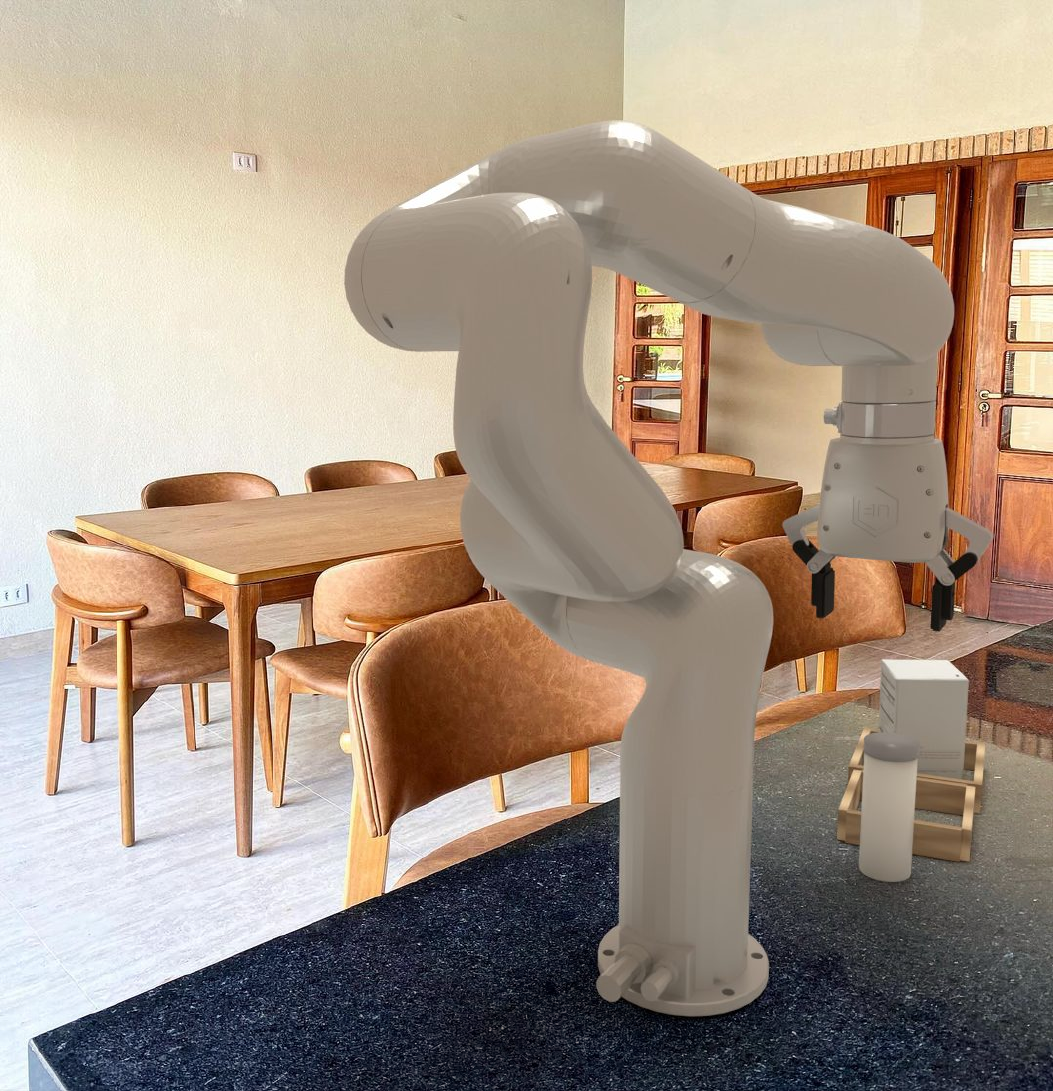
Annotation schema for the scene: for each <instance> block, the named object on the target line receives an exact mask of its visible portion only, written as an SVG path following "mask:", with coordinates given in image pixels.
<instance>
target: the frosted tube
mask: <svg viewBox="0 0 1053 1091" xmlns="http://www.w3.org/2000/svg"><path fill="white" fill-rule="evenodd" d="M919 747H920V744H919V742H918V741H917V740H916V739H914V738H912V737H909V736H906V735H903V734H898V733H889V732H878V733H872V734H868V735H866V736H865V737H864V747H863V750H864V771H863V791H862V800H861V811H862V812H861V832H860V845H859V852H858V853H859V857H858V870H859V871H860V872H861V874H863V875H865V877H868V878H871V879H873V880H876V881H881V882H886V883H887V882H888V883H896V882H897V883H899V882H903V881H906V880H908V879H909V878H910V877H911V874H912V860H913V859H912V858H913V854H912V845H913V828H914V820H915V809H916V808H915V794H916V777H917V760H918V757H919Z"/></svg>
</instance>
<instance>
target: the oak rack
mask: <svg viewBox="0 0 1053 1091" xmlns="http://www.w3.org/2000/svg"><path fill="white" fill-rule="evenodd" d="M872 733H878V729H876V728H869V727H864V728H863V730H862V732H861V735H860V737H859V740H858V743H857V745H856V747H855V750H854V751H853V755H852V757H851V759H850V761H849V764H848V772H847V773H848V774H847V775H848V776H847V786H846V788H845V792H844V794H843V796H842V798H841V802H840V803H839V804H840V805H839V807H838V808H837V809H838V812H837V828H836V830H837V832H836V840H839V841H844V843H845V844H852V845H856V846H857V845H858V846H860V832H861V812H862V810H857V809H858V807H859V803H860V801H862V791H863V771H864V750H863V747H864V737H865V736H866V735H868V734H872ZM985 751H986V742H979V741H970V740H965V752H964V768H963V770H970V771H974V775H973V780H969V779H968V780H967V779H963V780H962V779H955V778H948V777H941V776H934V775H927V774H920V773H917V777H916V794H915V809H918V810H925V811H926V810H927V811H932V812H937V813H944V814H945V813H946V814H951V815H956V816H957V815H958V816H962V823H961V826H957V825H956V826H955V825H950V824H946V823H945V824H944V823H938V822H931V821H925V820H919V819H914V828H913V845H912V855H917V856H922V857H928V858H935V859H941V860H946V861H952V862H959V863H960V861H963V862H970V859H971V858H970V857H971V847H972V846H971V845H972V837H973V836H972V835H973V834H972V833H973V823H974V814H981V809H982V808H981V806H982V796H983V795H982V793H983V781H984V780H983V779H984V765H985Z"/></svg>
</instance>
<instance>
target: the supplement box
mask: <svg viewBox="0 0 1053 1091" xmlns="http://www.w3.org/2000/svg"><path fill="white" fill-rule="evenodd" d="M880 662H881V663H880V679H879V680H880V681H879V682H880V683H879V684H880V685H879V706H878V707H879V710H878V725H877V726H878V732H889V733H898V734H903V735H906V736H909V737H912V738H914V739H916V740H917V741H918V742H919V744H920V747H919V757H918V760H917V773H920V774H927V775H934V776H941V777H948V778H955V779H962V780H964V769H963V768H964V752H965V741H966V732H967V731H966V730H967V718H968V716H967V715H968V702H969V701H968V698H969V685H970V682H969V681H970V680H969V679H968V678H967V676H965V675H964V674H963V673H962V672H961V671H960V670H959V669H958V668H957V667H956V666H955V665H954V664H953V663H952V662H950V661H949V660H947V659H885V658H883V659H881V661H880Z"/></svg>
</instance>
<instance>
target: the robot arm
mask: <svg viewBox="0 0 1053 1091" xmlns="http://www.w3.org/2000/svg"><path fill="white" fill-rule="evenodd" d="M593 267H598V268H602V269H606V270H610V271H611V272H614V273H617V274H619V275H621V276H623V277H625V278H627V279H629V280H631V281H634V282H636V283H639V284H640V285H642V286H645V287H647V288H649V289H651V290H652V291H655V292H657V293H660V294H662V295H663V296H665V297H668V298H669V299H672V300H674V301H675V302H678V303H679V304H682V305H684V306H685V307H688V308H690V309H691V310H693V311H695V312H698V313H701V314H703V315H706V316H710V317H716V318H719V319H726V320H731V321H737V322H742V323H743V322H744V323H753V324H754V323H755V324H760V329H761V333H762V336H763V339H764V341H765V343H766V344H767V346H768V348H769V349H770V351H771V352H773V353H774V354H775V356H778V358H780V359H782V360H784V361H786V362H788V363H791V364H795V365H799V366H808V367H841V368H842V369H841V398H840V399H841V402H838V405H837V406H835V407H833V408H825V409H824V412H823V423H824V424H825V425H832V426H833V427H836V429H837V434H840V435H839V437H836V438H832V439H830V440H829V444H828V446H827V451H826V457H825V462H824V468H823V474H822V482H821V489H820V494H819V495H820V496H819V504H817V505H815V506H813V507H811V508H808V509H807V510H804V511H802V512H799V513H798V514H794V515H792V516H791V517H789V518H786V519H785V520H783V522H782V528H783V530H784V532H785V534H786V536H787V539H788V541H789V543H790V544H791V546H792V551H793V552H794V553H795V554H796V557H798V558H799V559H800V560H801V561H802V563H804V565H806V569H807V571H808V573H810V574H811V588H810V589H811V592H810V594H811V596H810V599H811V600H810V602H811V603H810V604H811V606H813V607H815V608H816V610H815V617H816V619H824V618H826V617H828V616H829V615H830V614H831V613H833V611H834V610H835V590H836V589H835V586H836V585H835V583H836V572H835V571H836V570H834V567H831V566H832V561H833V560H834V559H836V557H838V558H839V557H840V558H850V559H858V560H859V559H861V560H873V561H883V562H884V561H886V562H896V563H898V562H899V563H913V564H916V563H917V564H919V563H924V564H925V565H926V566H927V567H928V569H929V570H930V571H931V572H932V574H933V575H934V576H935V577H936V581H935V583H934V584H933V585H932V586H931V587H932V588H931V604H930V606H931V608H930V610H931V611H930V628H929V629H930V630H932V631H933V632H939V633H940V632H941V630H943V629H944V627H945V626H946V624H947V622H948V621H952V620H953V618H954V616H955V602H956V600H955V599H956V598H955V597H956V595H955V594H956V581H958V580H959V579H960V578H962V576H964V575H965V574H966V573H967V572H969V571H971V569H972V568H974V567H975V566H976V564H977V563H979V562H980V559H981V557H982V556H983V555H984V553H985V552H986V550H987V549H988V547H989V546H990V544H991V543H992V540H993V539H994V533H993V531H991V530H990V529H988V528H986V527H984V526H982V525H981V524H979V523H978V522H975V521H973V520H971V519H970V518H968V517H966V516H964V515H962V514H961V513H959V512H957V511H955V510H953V509H952V508H950V506H949V486H948V484H949V483H948V472H947V462H946V454H945V448H944V443H943V439H940V438H935V430H936V429H935V428H936V427H935V426H936V409H937V407H936V405H937V384H938V382H937V381H938V380H937V378H938V359H939V358H938V357H939V356H938V355H939V354H938V353H939V352H940V351H941V350H942V349H943V347H944V346H945V344H946V342H947V341H948V340H949V337H950V335H951V333H952V328H953V326H954V320H955V302H954V298H953V293H952V291H951V288H950V284H949V283H948V280H947V279H946V277H945V275H944V274H943V272H942V271H941V270H940V268H938V266H937V265H936V264H935V263H934V262H933V261H932V260H931V259H930V258H928V256H926V255H925V254H924V253H923V252H921V251H919V250H918V249H917V248H915V247H914V246H912V245H911V244H910V243H908V242H906V240H904V239H902V238H900V237H898V236H896V235H894V234H892V233H890V232H888V231H886V230H883V229H880V228H877V227H874V226H871V225H868V224H864V223H861V222H858V221H854V220H849V219H846V218H841V217H837V216H833V215H830V214H826V213H823V212H817V211H815V210H812V209H807V208H805V207H801V206H797V205H792V204H789V203H788V204H787V203H784V202H780V201H779V202H778V201H774V200H770V199H766V198H764V197H761V196H760V195H757V194H756V193H754V192H752V191H751V190H749V189H748V188H746V187H744V186H742V185H741V184H740V183H738V182H737V181H735V180H734V179H732V178H730V177H729V176H727V175H726V174H724V173H723V172H721V171H719V170H718V169H716V168H715V167H713V166H712V165H710V164H709V163H707V162H705V161H704V160H702V159H701V158H699V157H698V156H696V155H694V154H693V153H691V152H690V151H689V150H687V149H685V148H683V147H682V146H680V145H679V144H677V143H675V142H674V141H672V140H671V139H669V138H668V137H666V136H665V135H663V134H662V133H659V132H658V131H656V130H655V129H653V128H651V127H649V126H645V125H644V124H641V123H638V122H634V121H630V120H623V119H622V120H621V119H620V120H618V119H612V120H604V121H603V120H602V121H597V122H593V123H587V124H583V125H579V126H575V127H572V128H568V129H567V128H566V129H563V130H558V131H553V132H550V133H546V134H540V135H535V136H532V137H528V138H524V139H521V140H519V141H516V142H513V143H512V144H509V145H506V146H504V147H501V148H500V149H498V150H496V151H495V152H492V153H491V154H489V155H486V156H484V157H483V158H481V159H480V160H478V161H476V162H474V163H473V164H470V165H468V166H467V167H464V168H463V169H461V170H460V171H458V172H456V173H454V174H452V175H449V176H448V177H446V178H445V179H443V180H441V181H439V182H437V183H435V184H433V185H431V186H430V187H428V188H426V189H424V190H423V191H420V192H419V193H417V194H414V195H413V196H411V197H409V198H407V199H405V200H403V201H402V202H399V203H397V204H396V205H393V206H392V207H390V208H388V209H387V210H385V211H383V212H381V213H380V214H379V215H377V216H376V217H374V218H373V219H371V221H369V222H368V224H366V226H364V228H362V230H360V232H359V233H358V235H357V236H356V238H355V239H354V241H353V243H352V245H351V248H350V250H349V252H348V254H347V259H346V263H345V267H344V281H343V282H344V283H343V284H344V289H345V290H344V291H345V296H346V300H347V301H346V302H347V304H348V305H349V309H350V312H351V313H352V315H353V316H354V318H355V320H356V322H357V323H358V324H359V325H360V326H361V327H362V329H363V330H364V331H365V332H366V333H367V334H368V335H370V336H371V337H372V338H374V339H376V341H377V342H379V343H382V344H383V345H386V346H388V347H389V348H394V349H397V350H402V351H406V352H417V353H418V352H419V353H420V352H423V353H427V352H458V355H457V362H456V369H455V380H454V381H455V382H454V393H453V394H454V395H453V396H454V398H453V413H452V415H453V418H452V420H453V423H452V426H453V428H452V429H453V431H452V432H453V442H454V448H455V451H456V455H457V458H458V460H459V463H460V464H461V466H462V468H463V470H464V471H465V473H466V474H467V476H468V477H469V479H470V480H469V482H468V484H467V486H466V488H465V489H464V492H463V496H462V500H461V504H460V513H459V518H460V519H459V522H460V524H459V525H460V531H461V537H462V541H463V545H464V547H465V550H466V552H467V553H468V554H467V555H468V556H469V558H470V560H471V562H472V564H473V565H474V567H475V568H476V569H477V571H478V572H479V574H480V575H481V576H482V577H483V578H484V579H485V580H486V581H487V582H488V583H489V584H490V585H491V586H492V587H493V588H494V589H495V590H496V591H497V592H498V593H500V595H501V596H503V597H504V599H506V600H507V601H508V602H509V603H510V605H512V606H513V607H514V608H516V610H518V611H519V612H520V613H521V614H522V615H523V616H524V617H526V618H527V619H528V620H529V621H530V622H531V623H532V624H533V625H534V626H535V627H536V628H538V629H539V630H540V631H541V633H543V634H544V635H545V636H546V637H548V638H549V639H550V640H551V641H552V642H553V643H554V644H556V645H557V646H559V647H560V648H562V649H563V650H564V651H567V652H568V653H569V654H572V655H574V656H577V657H578V658H581V659H583V660H584V659H585V660H586V661H587V660H588V661H590V662H592V663H596V664H600V665H602V666H607V667H609V668H613V669H617V670H620V671H623V672H624V671H625V672H627V673H631V674H632V675H634V676H638V677H641V678H643V679H644V680H645V689H644V692H643V694H642V696H641V698H640V699H639V701H638V702H637V703H636V706H635V707H634V709H633V710H632V712H631V713H630V715H629V716H628V719H627V721H626V722H625V725H624V726H623V731H622V734H621V741H620V748H619V750H620V751H619V775H620V776H619V860H618V861H619V868H618V869H619V874H618V876H619V877H618V878H619V879H618V880H619V882H618V883H619V884H618V890H619V892H618V894H619V895H618V924H617V925H616V926H614V927H612V928H611V929H610V930H609V931H608V932H606V934H605V935H604V936H603V938H602V939H601V941H600V942H599V946H598V949H597V950H598V951H597V967H598V971H599V974H600V975H599V976H598V978H597V980H596V984H595V985H596V987H595V988H596V989H597V992H598V994H599V995H600V996H601V997H602V999H603V1000H606V1001H608V1002H609V1003H613V1002H614V1003H615V1002H617V1001H618V1000H619V999H620V998H623V999H625V1000H626V1001H628V1002H629V1003H632V1004H634V1005H636V1006H638V1007H640V1008H643V1009H647V1010H650V1011H652V1012H653V1011H654V1012H656V1013H660V1014H661V1013H662V1014H665V1015H671V1016H678V1017H679V1016H683V1017H708V1016H715V1015H721V1014H726V1013H729V1012H732V1011H735V1010H738V1009H741V1008H744V1006H747V1005H748V1004H751V1003H752V1002H753V1001H754V1000H755V999H757V998H758V997H759V996H761V994H762V993H763V991H764V990H765V989H766V987H767V985H768V981H769V972H770V971H769V970H770V962H769V957H768V955H767V954H768V953H767V952H766V951H765V949H764V947H763V946H762V945H761V943H760V942H759V941H757V939H756V938H755V937H754V936H752V935H751V934H750V933H749V922H750V921H749V919H750V917H749V916H750V914H749V913H750V885H751V884H750V881H751V880H750V879H751V855H752V854H751V853H752V850H751V848H752V824H753V823H752V820H753V800H754V799H753V798H754V797H753V796H754V793H753V792H754V791H753V790H754V783H753V782H754V757H755V755H754V752H755V734H756V723H757V722H756V721H757V712H758V711H757V710H758V703H759V696H760V689H761V685H762V680H763V675H764V672H765V667H766V662H767V658H768V654H769V651H770V646H771V640H772V636H773V629H774V608H773V602H772V599H771V596H770V593H769V591H768V590H767V588H766V586H765V584H764V583H763V582H762V580H761V579H760V578H759V577H758V576H757V575H756V574H755V573H754V572H753V571H751V570H750V569H749V568H747V567H746V566H744V565H742V564H741V563H739V562H738V561H734V560H732V559H729V558H727V557H724V556H720V555H718V554H717V555H716V554H712V553H709V552H703V551H698V550H690V549H685V548H684V547H685V546H684V534H683V529H682V524H681V522H680V520H679V517H678V514H677V511H676V509H675V508H674V506H673V505H672V503H671V502H670V500H669V499H668V497H667V495H666V494H665V492H664V491H663V489H662V488H661V487H660V486H659V484H658V483H657V482H656V480H655V479H654V478H653V477H652V476H651V475H650V473H649V472H648V471H647V470H646V468H645V467H644V466H643V465H642V464H641V462H639V460H638V458H636V457H635V456H634V454H633V453H632V452H631V450H629V448H628V447H627V446H626V445H625V444H624V443H623V441H622V440H621V438H619V437H618V435H617V434H616V433H615V432H614V430H613V429H612V428H611V427H610V425H609V424H608V423H607V421H606V420H605V419H604V417H603V416H602V415H601V413H600V412H599V410H598V409H597V407H596V406H595V405H594V403H593V401H592V400H591V397H590V396H589V394H588V391H587V387H586V384H585V375H584V351H585V349H584V348H585V341H586V340H585V338H586V330H587V325H588V317H589V316H588V315H589V311H590V310H589V309H590V305H591V304H590V303H591V298H592V288H593V271H592V270H593ZM815 522H817V530H816V531H817V532H816V533H817V545H818V548H819V549H818V548H817V547H816V546H815V545H814V543H813V542H812V541H811V540H810V539H809V538H808V537H807V533H806V531H805V527H807V526H809V525H810V524H812V523H815ZM949 530H952V531H953V532H954V533H957V534H958V535H961V537H964V538H966V539H967V540H968V547H967V548H966V550H965V551H964V553H963V554H962V555H960V557H958V558H957V559H956V560H954V559H953V558H952V557H951V556H950V555H949V553H948V552H947V551H946V547H947V546H948V541H949V534H950V533H949V532H950V531H949Z"/></svg>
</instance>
